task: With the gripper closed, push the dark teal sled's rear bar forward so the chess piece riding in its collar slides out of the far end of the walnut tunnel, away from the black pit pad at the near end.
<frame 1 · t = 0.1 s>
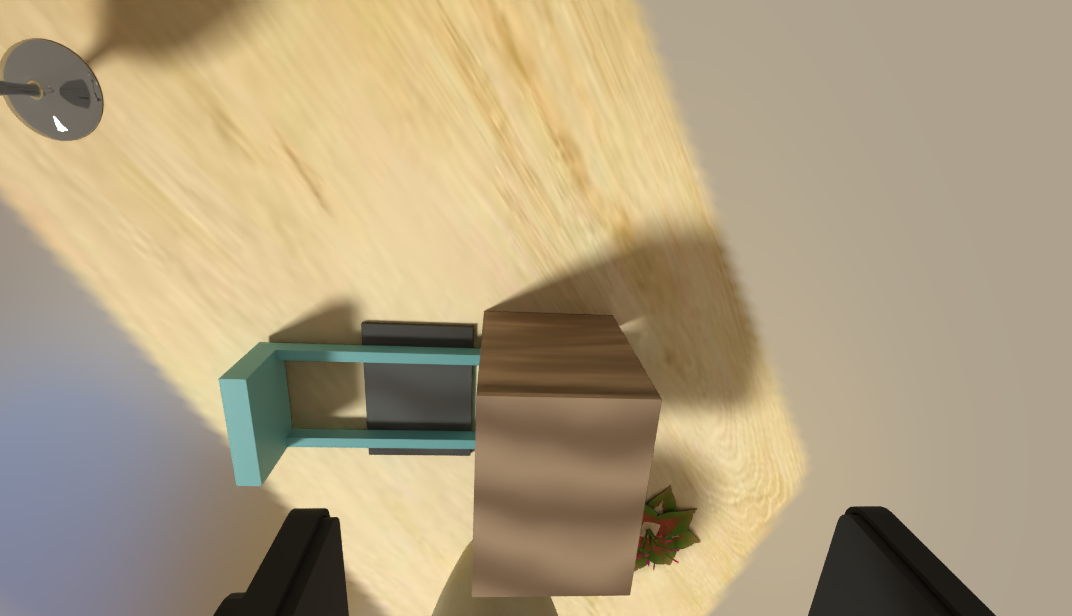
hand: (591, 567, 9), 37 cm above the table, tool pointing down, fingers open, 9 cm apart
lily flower: (647, 525, 57), on the table
plant pot: (495, 557, 57), on the table
wine glass: (53, 91, 38), on the table
sled: (429, 414, 45), point 4 cm above the table, slide at 0.0 cm
tunnel: (543, 394, 50), on the table
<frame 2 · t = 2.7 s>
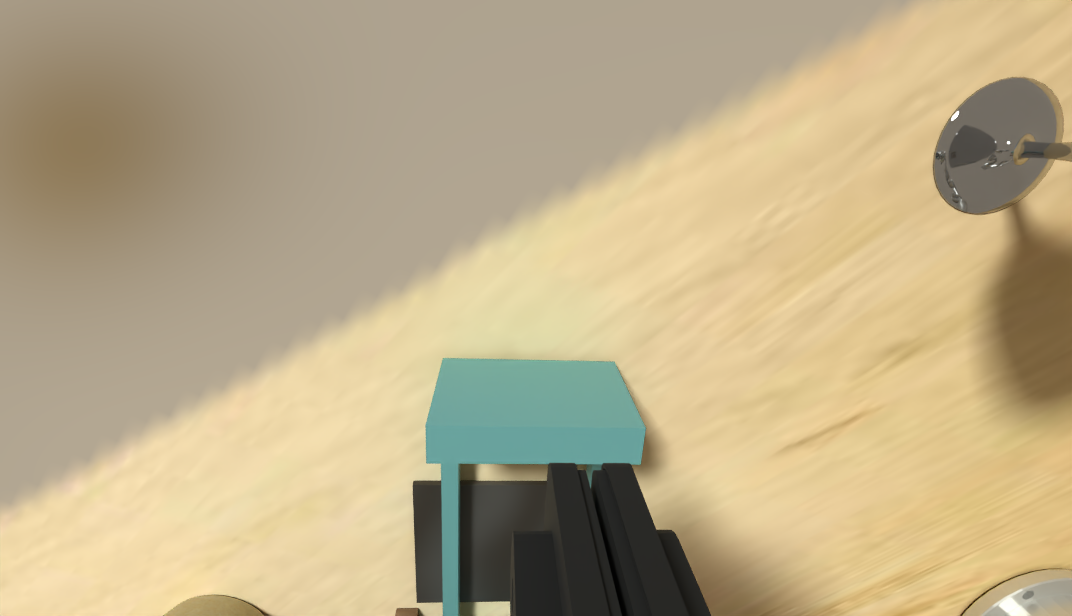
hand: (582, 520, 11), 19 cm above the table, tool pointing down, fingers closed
wine glass: (994, 148, 28), on the table
sled: (520, 611, 31), point 4 cm above the table, slide at 0.0 cm
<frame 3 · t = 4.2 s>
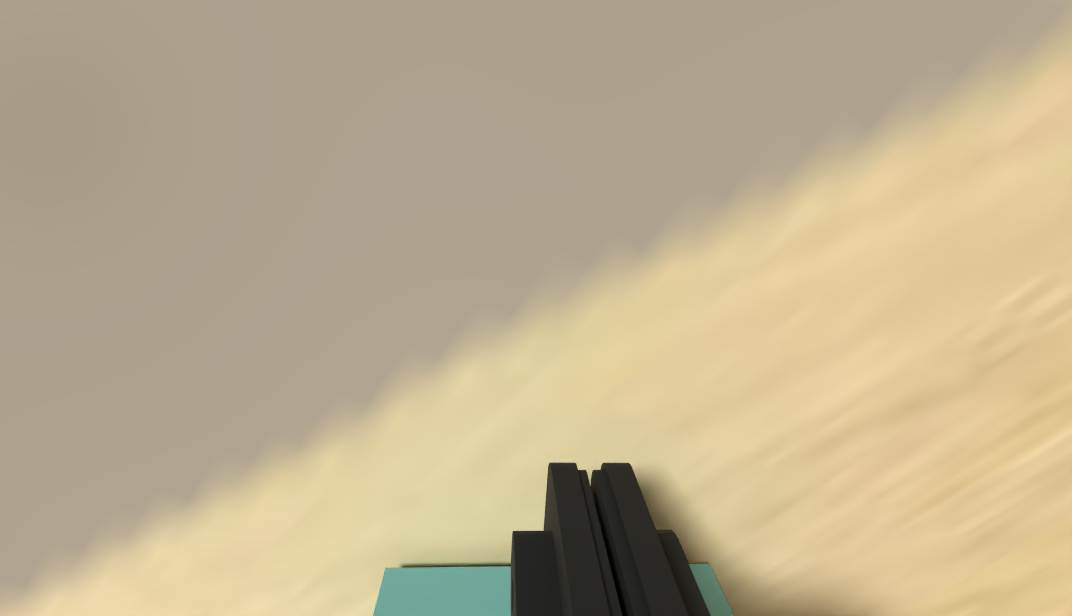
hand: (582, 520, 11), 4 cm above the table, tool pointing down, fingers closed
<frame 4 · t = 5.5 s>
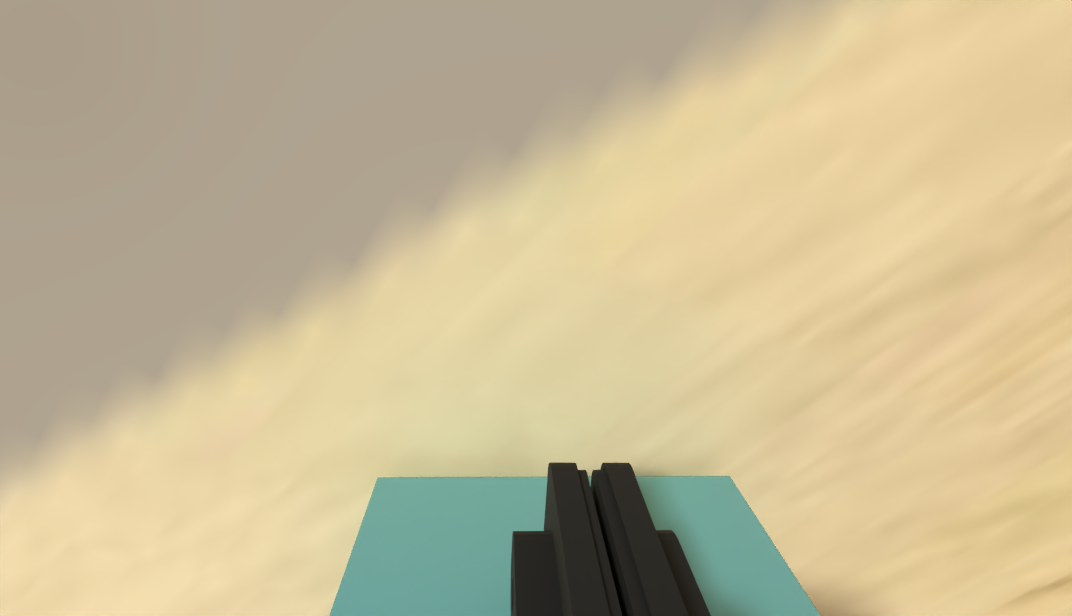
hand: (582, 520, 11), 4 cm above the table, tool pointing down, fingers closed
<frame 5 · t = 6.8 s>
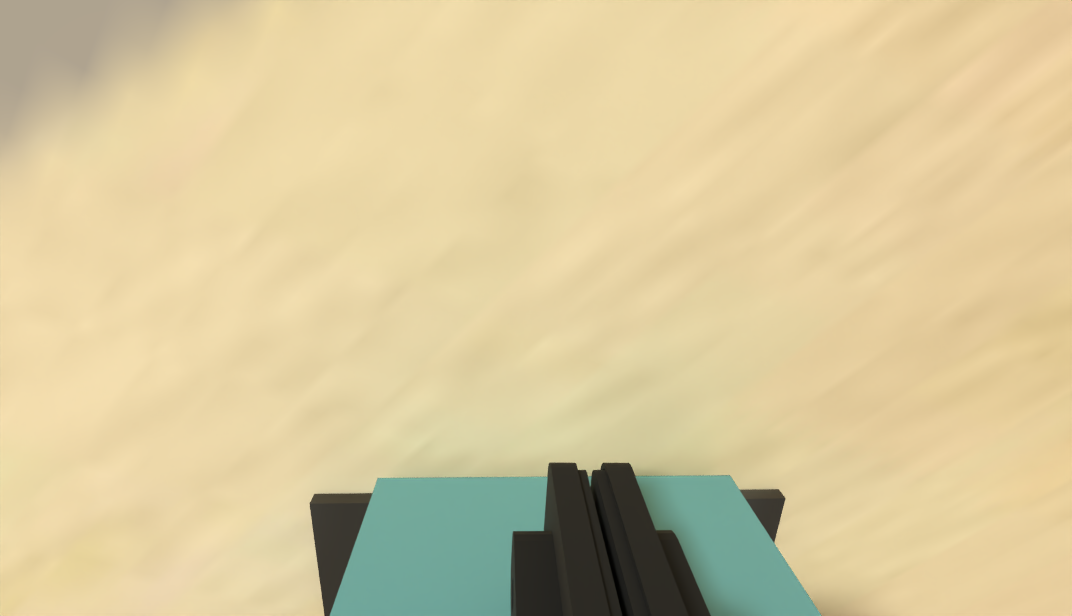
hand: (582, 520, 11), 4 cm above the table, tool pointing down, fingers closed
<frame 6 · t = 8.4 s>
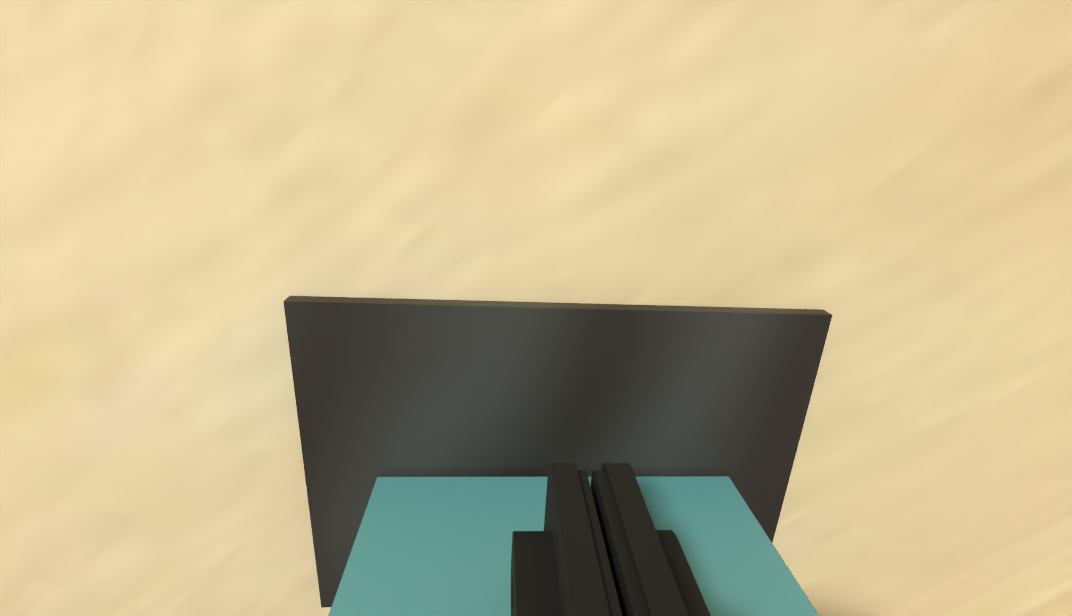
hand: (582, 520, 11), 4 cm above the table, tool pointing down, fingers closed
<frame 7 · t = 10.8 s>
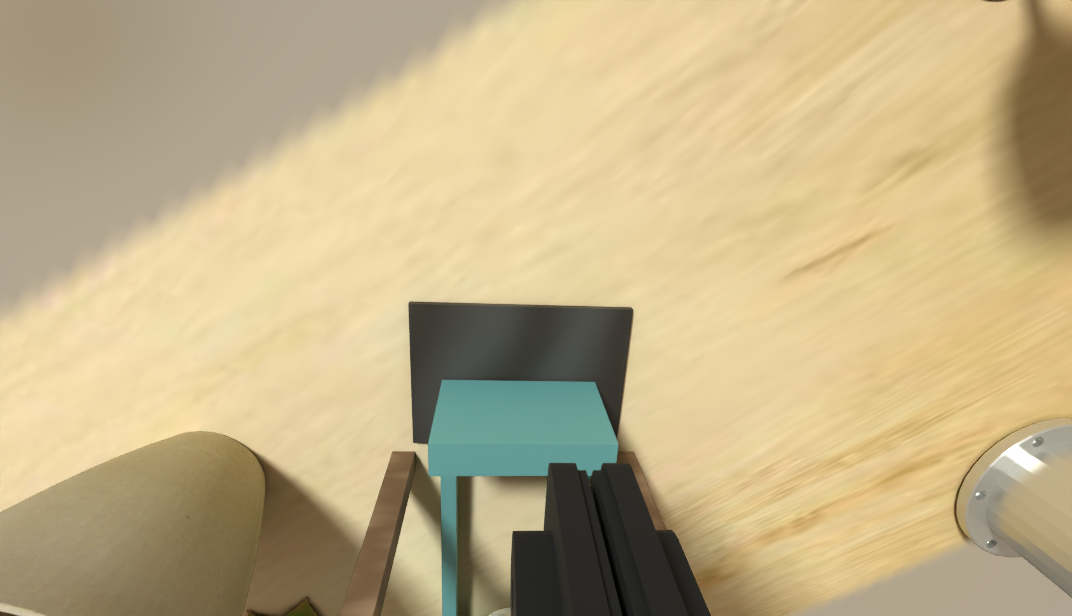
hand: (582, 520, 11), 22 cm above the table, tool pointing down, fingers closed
plant pot: (208, 473, 35), on the table
sled: (512, 604, 35), point 4 cm above the table, slide at 14.1 cm
tunnel: (512, 519, 38), on the table
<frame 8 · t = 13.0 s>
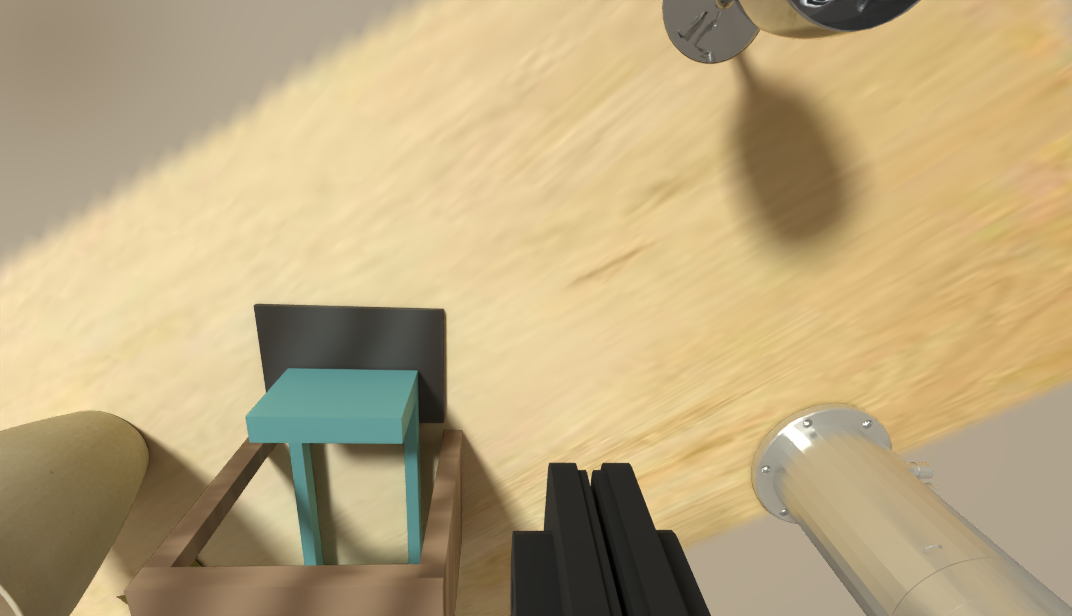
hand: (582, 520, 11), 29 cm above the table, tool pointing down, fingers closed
plant pot: (101, 446, 42), on the table
wine glass: (714, 4, 34), on the table
sled: (354, 557, 42), point 4 cm above the table, slide at 14.1 cm
tunnel: (364, 488, 45), on the table
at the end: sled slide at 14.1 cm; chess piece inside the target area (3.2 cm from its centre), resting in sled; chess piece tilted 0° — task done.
